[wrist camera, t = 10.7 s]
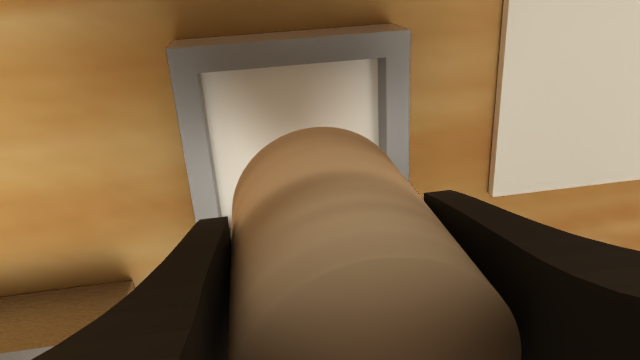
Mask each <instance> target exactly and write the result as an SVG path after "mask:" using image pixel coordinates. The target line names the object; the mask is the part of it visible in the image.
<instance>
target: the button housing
mask: <svg viewBox="0 0 640 360" xmlns="http://www.w3.org/2000/svg"><path fill="white" fill-rule="evenodd" d="M133 290H134V285H133V281H132V280H129V281H121V282H114V283H106V284H98V285H90V286H83V287H75V288H67V289H59V290H52V291H44V292H36V293H28V294H21V295H13V296H5V297H0V360H31V359H33V358H35V357H37V356H38V355H40V354H42V353H44V352H45V351H47V350H49V349H51V348H52V347H54V346H56V345H57V344H59V343H61V342H62V341H64V340H65V339H67V338H68V337H70V336H71V335H73V334H74V333H76V332H77V331H79V330H80V329H82V328H83V327H85V326H87V325H88V324H90V323H91V322H93V321H94V320H96V319H97V318H98V317H100V316H101V315H103V314H104V313H105V312H107V311H108V310H109V309H110V308H112V307H113V306H114V305H116V304H117V303H118V302H119V301H121V300H122V299H123V298H124V297H126V296H127V295H128V294H129V293H130V292H132V291H133Z"/></svg>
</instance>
